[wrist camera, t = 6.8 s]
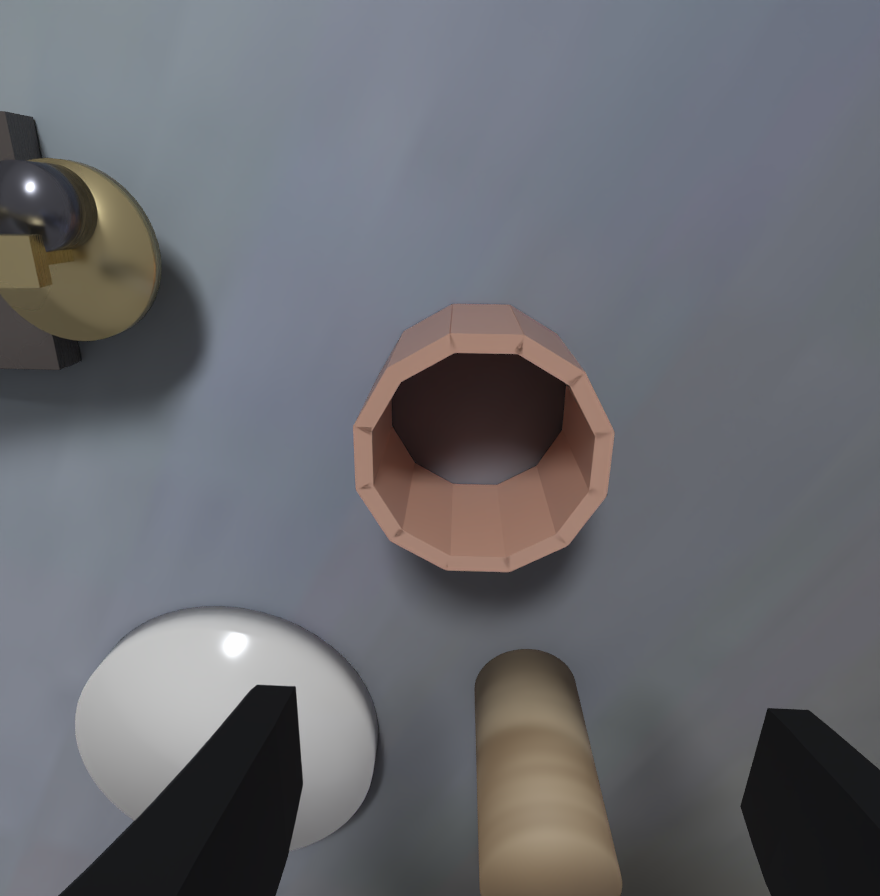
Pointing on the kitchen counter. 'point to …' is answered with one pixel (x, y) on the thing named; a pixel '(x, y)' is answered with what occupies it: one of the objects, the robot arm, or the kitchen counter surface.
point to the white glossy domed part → (224, 709)
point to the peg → (538, 784)
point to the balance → (66, 254)
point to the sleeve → (471, 505)
